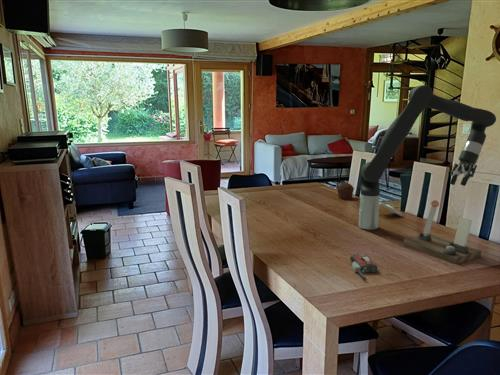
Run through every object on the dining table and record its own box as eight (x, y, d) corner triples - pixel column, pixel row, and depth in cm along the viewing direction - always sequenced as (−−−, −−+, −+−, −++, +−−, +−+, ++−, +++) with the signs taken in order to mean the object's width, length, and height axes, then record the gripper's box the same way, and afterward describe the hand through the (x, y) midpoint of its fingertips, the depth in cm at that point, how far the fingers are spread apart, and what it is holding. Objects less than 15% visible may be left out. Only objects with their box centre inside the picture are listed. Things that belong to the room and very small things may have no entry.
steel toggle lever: (423, 236, 176) (435, 200, 175) (430, 238, 173) (441, 202, 173) (419, 234, 174) (430, 198, 174) (425, 236, 172) (437, 200, 171)
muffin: (355, 199, 261) (356, 185, 259) (338, 199, 261) (339, 185, 259) (351, 195, 273) (351, 181, 271) (335, 196, 273) (335, 181, 271)
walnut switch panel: (427, 239, 182) (428, 228, 181) (480, 256, 161) (481, 244, 160) (403, 245, 175) (404, 234, 174) (455, 264, 153) (456, 251, 152)
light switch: (404, 214, 219) (382, 202, 218) (398, 223, 220) (376, 211, 219) (398, 210, 227) (377, 198, 226) (393, 218, 228) (372, 207, 227)
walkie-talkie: (345, 261, 159) (361, 282, 139) (345, 250, 158) (362, 270, 138) (366, 260, 159) (386, 281, 140) (366, 249, 158) (386, 269, 139)
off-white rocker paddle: (454, 245, 162) (461, 217, 161) (464, 249, 158) (472, 220, 157) (452, 245, 162) (460, 217, 161) (462, 248, 158) (470, 219, 157)
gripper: (454, 150, 191) (441, 181, 191) (473, 148, 177) (459, 182, 177) (468, 156, 192) (455, 187, 192) (487, 155, 177) (473, 188, 178)
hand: (457, 184), depth 184 cm, fingers open, 8 cm apart
